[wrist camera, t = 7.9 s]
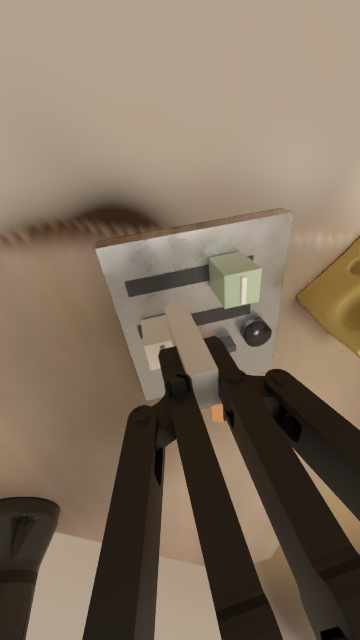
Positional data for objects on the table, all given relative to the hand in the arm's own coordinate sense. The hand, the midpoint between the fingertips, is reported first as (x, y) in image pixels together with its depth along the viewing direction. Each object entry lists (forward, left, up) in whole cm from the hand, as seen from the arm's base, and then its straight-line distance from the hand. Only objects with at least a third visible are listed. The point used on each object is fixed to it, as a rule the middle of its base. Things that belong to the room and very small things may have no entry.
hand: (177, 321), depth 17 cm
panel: (+4, -6, -8) cm, 10 cm away
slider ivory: (-1, -5, -6) cm, 7 cm away
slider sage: (+6, 0, -6) cm, 8 cm away
